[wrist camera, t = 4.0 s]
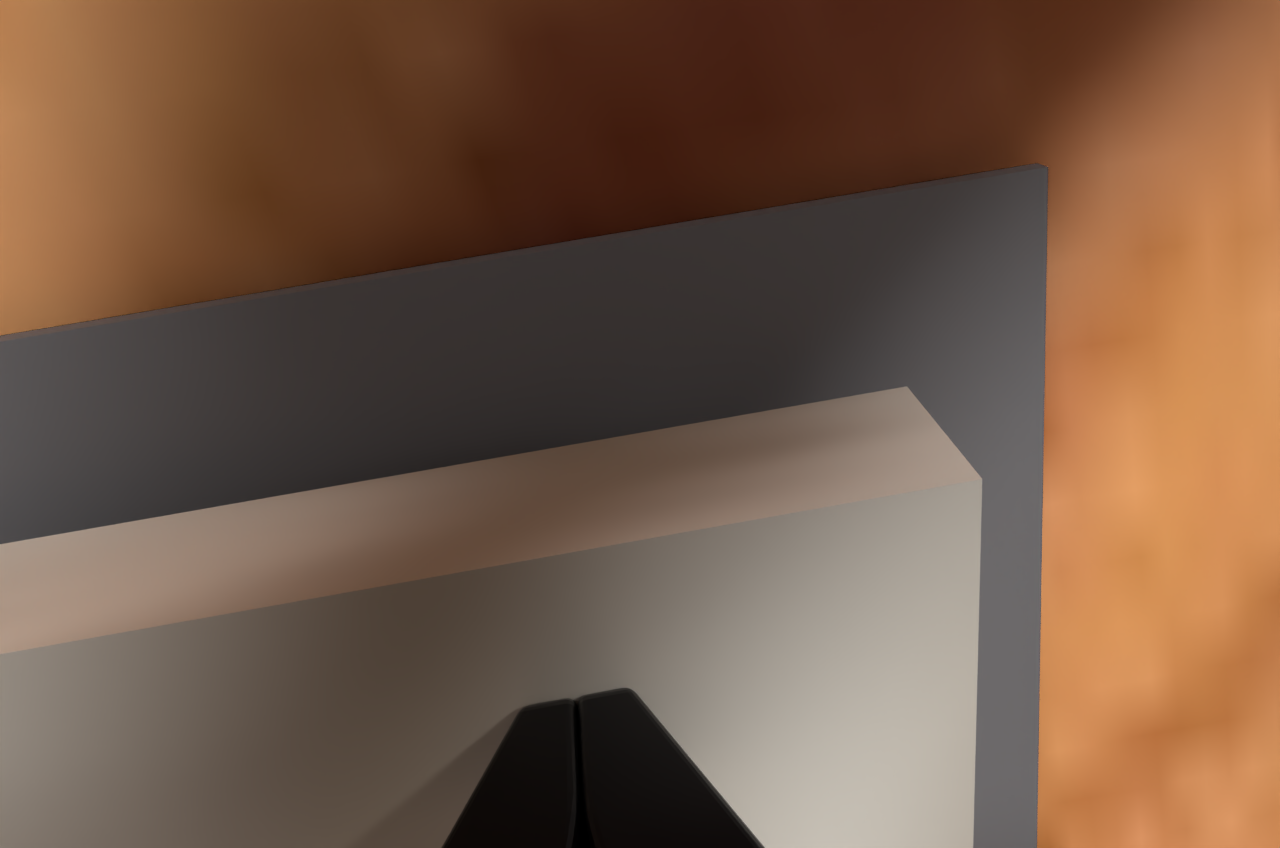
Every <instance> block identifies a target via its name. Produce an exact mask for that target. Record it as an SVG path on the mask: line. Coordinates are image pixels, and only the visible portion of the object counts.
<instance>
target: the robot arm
mask: <svg viewBox="0 0 1280 848" xmlns="http://www.w3.org/2000/svg"><path fill="white" fill-rule="evenodd" d="M442 848H765V847H764V846H763V845H762V843H761V842H760V841H759V840H758V839H757V837H756V836H755V835H754V834H753V833H752V831H751V830H750V829H749V828H748V827H747V825H746V824H745V823H744V822H743V821H742V819H741V818H740V817H739V816H738V815H737V813H736V812H735V811H734V810H733V809H732V807H731V806H730V805H729V804H728V803H727V801H726V800H725V799H724V798H723V797H722V795H721V794H720V793H719V792H718V791H717V789H716V788H715V787H714V786H713V784H712V783H711V782H710V781H709V780H708V778H707V777H706V776H705V775H704V774H703V772H702V771H701V770H700V769H699V768H698V766H697V765H696V764H695V763H694V762H693V760H692V759H691V758H690V757H689V756H688V754H687V753H686V752H685V751H684V750H683V748H682V747H681V746H680V745H679V744H678V742H677V741H676V740H675V739H674V738H673V736H672V735H671V734H670V733H669V732H668V730H667V729H666V728H665V727H664V726H663V724H662V723H661V722H660V721H659V720H658V718H657V717H656V716H655V715H654V714H653V712H652V711H651V710H650V709H649V708H648V706H647V705H646V704H645V703H644V702H643V700H642V699H641V698H640V697H639V695H638V694H637V693H636V692H635V691H633V690H632V689H630V688H619V689H613V690H608V691H602V692H597V693H592V694H587V695H584V696H583V697H581V698H580V700H579V703H578V706H577V704H576V703H575V701H574V700H572V699H570V698H564V699H559V700H553V701H548V702H543V703H537V704H532V705H528V706H525V707H523V708H522V709H521V710H520V711H519V712H518V713H517V715H516V717H515V718H514V720H513V722H512V724H511V725H510V727H509V729H508V731H507V733H506V734H505V736H504V738H503V740H502V741H501V743H500V745H499V747H498V749H497V750H496V752H495V754H494V756H493V757H492V759H491V761H490V763H489V764H488V766H487V768H486V770H485V772H484V773H483V775H482V777H481V779H480V780H479V782H478V784H477V786H476V787H475V789H474V791H473V793H472V795H471V796H470V798H469V800H468V802H467V803H466V805H465V807H464V809H463V811H462V812H461V814H460V816H459V818H458V819H457V821H456V823H455V825H454V826H453V828H452V830H451V832H450V834H449V835H448V837H447V839H446V841H445V842H444V844H443V846H442Z"/></svg>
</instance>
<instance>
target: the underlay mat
mask: <svg viewBox="0 0 1280 848" xmlns="http://www.w3.org/2000/svg"><path fill="white" fill-rule="evenodd" d="M1047 204H1048V167H1047V166H1044V165H1041V164H1038V163H1035V164H1029V165H1023V166H1017V167H1011V168H1005V169H999V170H993V171H987V172H981V173H975V174H969V175H963V176H957V177H951V178H945V179H939V180H933V181H927V182H921V183H915V184H909V185H903V186H897V187H891V188H885V189H879V190H873V191H867V192H861V193H855V194H849V195H843V196H837V197H831V198H825V199H819V200H813V201H807V202H801V203H795V204H789V205H783V206H777V207H771V208H765V209H759V210H753V211H747V212H741V213H735V214H729V215H723V216H717V217H711V218H705V219H699V220H693V221H687V222H681V223H675V224H669V225H663V226H657V227H651V228H645V229H639V230H633V231H627V232H621V233H615V234H609V235H603V236H597V237H591V238H585V239H579V240H573V241H567V242H561V243H555V244H549V245H543V246H537V247H531V248H525V249H519V250H513V251H507V252H501V253H495V254H489V255H483V256H477V257H471V258H465V259H459V260H453V261H447V262H441V263H434V264H428V265H422V266H416V267H410V268H404V269H398V270H392V271H386V272H380V273H374V274H368V275H362V276H356V277H350V278H344V279H338V280H332V281H326V282H320V283H314V284H308V285H302V286H296V287H290V288H284V289H278V290H272V291H266V292H260V293H254V294H248V295H242V296H236V297H230V298H224V299H218V300H212V301H206V302H200V303H194V304H188V305H182V306H176V307H170V308H164V309H158V310H152V311H146V312H140V313H134V314H128V315H122V316H116V317H110V318H104V319H98V320H92V321H86V322H80V323H74V324H68V325H62V326H56V327H50V328H44V329H38V330H32V331H26V332H20V333H14V334H8V335H2V336H0V544H5V543H11V542H16V541H22V540H28V539H34V538H39V537H45V536H51V535H57V534H62V533H68V532H74V531H80V530H85V529H91V528H97V527H102V526H108V525H114V524H120V523H125V522H131V521H137V520H143V519H148V518H154V517H160V516H166V515H171V514H177V513H183V512H189V511H194V510H200V509H206V508H212V507H217V506H223V505H229V504H234V503H240V502H246V501H252V500H257V499H263V498H269V497H275V496H280V495H286V494H292V493H298V492H303V491H309V490H315V489H321V488H326V487H332V486H338V485H344V484H349V483H355V482H361V481H366V480H372V479H378V478H384V477H389V476H395V475H401V474H407V473H412V472H418V471H424V470H430V469H435V468H441V467H447V466H453V465H458V464H464V463H470V462H476V461H481V460H487V459H493V458H498V457H504V456H510V455H516V454H521V453H527V452H533V451H539V450H544V449H550V448H556V447H562V446H567V445H573V444H579V443H585V442H590V441H596V440H602V439H608V438H613V437H619V436H625V435H630V434H636V433H642V432H648V431H653V430H659V429H665V428H671V427H676V426H682V425H688V424H694V423H699V422H705V421H711V420H717V419H722V418H728V417H734V416H740V415H745V414H751V413H757V412H762V411H768V410H774V409H780V408H785V407H791V406H797V405H803V404H808V403H814V402H820V401H826V400H831V399H837V398H843V397H849V396H854V395H860V394H866V393H872V392H877V391H883V390H889V389H894V388H900V387H906V386H907V387H908V388H909V389H910V391H911V392H912V393H913V394H914V396H915V397H916V398H917V399H918V400H919V402H920V403H921V404H922V405H923V407H924V408H925V409H926V410H927V412H928V413H929V414H930V415H931V416H932V418H933V419H934V420H935V421H936V423H937V424H938V425H939V426H940V428H941V429H942V430H943V431H944V432H945V434H946V435H947V436H948V437H949V439H950V440H951V441H952V442H953V444H954V445H955V446H956V447H957V448H958V450H959V451H960V452H961V453H962V455H963V456H964V457H965V458H966V460H967V461H968V462H969V463H970V464H971V466H972V467H973V468H974V469H975V471H976V472H977V473H978V474H979V476H980V477H981V478H982V513H981V553H980V593H979V634H978V674H977V714H976V754H975V794H974V834H973V848H1037V804H1038V744H1039V684H1040V624H1041V564H1042V504H1043V444H1044V384H1045V324H1046V264H1047Z"/></svg>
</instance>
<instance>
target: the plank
mask: <svg viewBox="0 0 1280 848" xmlns="http://www.w3.org/2000/svg"><path fill="white" fill-rule="evenodd" d="M981 513H982V478H981V477H980V476H979V474H978V473H977V472H976V471H975V469H974V468H973V467H972V466H971V464H970V463H969V462H968V461H967V460H966V458H965V457H964V456H963V455H962V453H961V452H960V451H959V450H958V448H957V447H956V446H955V445H954V444H953V442H952V441H951V440H950V439H949V437H948V436H947V435H946V434H945V432H944V431H943V430H942V429H941V428H940V426H939V425H938V424H937V423H936V421H935V420H934V419H933V418H932V416H931V415H930V414H929V413H928V412H927V410H926V409H925V408H924V407H923V405H922V404H921V403H920V402H919V400H918V399H917V398H916V397H915V396H914V394H913V393H912V392H911V391H910V389H909V388H908V387H907V386H906V387H900V388H894V389H889V390H883V391H877V392H872V393H866V394H860V395H854V396H849V397H843V398H837V399H831V400H826V401H820V402H814V403H808V404H803V405H797V406H791V407H785V408H780V409H774V410H768V411H762V412H757V413H751V414H745V415H740V416H734V417H728V418H722V419H717V420H711V421H705V422H699V423H694V424H688V425H682V426H676V427H671V428H665V429H659V430H653V431H648V432H642V433H636V434H630V435H625V436H619V437H613V438H608V439H602V440H596V441H590V442H585V443H579V444H573V445H567V446H562V447H556V448H550V449H544V450H539V451H533V452H527V453H521V454H516V455H510V456H504V457H498V458H493V459H487V460H481V461H476V462H470V463H464V464H458V465H453V466H447V467H441V468H435V469H430V470H424V471H418V472H412V473H407V474H401V475H395V476H389V477H384V478H378V479H372V480H366V481H361V482H355V483H349V484H344V485H338V486H332V487H326V488H321V489H315V490H309V491H303V492H298V493H292V494H286V495H280V496H275V497H269V498H263V499H257V500H252V501H246V502H240V503H234V504H229V505H223V506H217V507H212V508H206V509H200V510H194V511H189V512H183V513H177V514H171V515H166V516H160V517H154V518H148V519H143V520H137V521H131V522H125V523H120V524H114V525H108V526H102V527H97V528H91V529H85V530H80V531H74V532H68V533H62V534H57V535H51V536H45V537H39V538H34V539H28V540H22V541H16V542H11V543H5V544H0V848H442V846H443V844H444V842H445V841H446V839H447V837H448V835H449V834H450V832H451V830H452V828H453V826H454V825H455V823H456V821H457V819H458V818H459V816H460V814H461V812H462V811H463V809H464V807H465V805H466V803H467V802H468V800H469V798H470V796H471V795H472V793H473V791H474V789H475V787H476V786H477V784H478V782H479V780H480V779H481V777H482V775H483V773H484V772H485V770H486V768H487V766H488V764H489V763H490V761H491V759H492V757H493V756H494V754H495V752H496V750H497V749H498V747H499V745H500V743H501V741H502V740H503V738H504V736H505V734H506V733H507V731H508V729H509V727H510V725H511V724H512V722H513V720H514V718H515V717H516V715H517V713H518V712H519V711H520V710H521V709H522V708H523V707H525V706H528V705H532V704H537V703H543V702H548V701H553V700H559V699H564V698H570V699H572V700H574V701H575V703H576V704H577V706H578V703H579V700H580V698H581V697H583V696H584V695H587V694H592V693H597V692H602V691H608V690H613V689H619V688H630V689H632V690H633V691H635V692H636V693H637V694H638V695H639V697H640V698H641V699H642V700H643V702H644V703H645V704H646V705H647V706H648V708H649V709H650V710H651V711H652V712H653V714H654V715H655V716H656V717H657V718H658V720H659V721H660V722H661V723H662V724H663V726H664V727H665V728H666V729H667V730H668V732H669V733H670V734H671V735H672V736H673V738H674V739H675V740H676V741H677V742H678V744H679V745H680V746H681V747H682V748H683V750H684V751H685V752H686V753H687V754H688V756H689V757H690V758H691V759H692V760H693V762H694V763H695V764H696V765H697V766H698V768H699V769H700V770H701V771H702V772H703V774H704V775H705V776H706V777H707V778H708V780H709V781H710V782H711V783H712V784H713V786H714V787H715V788H716V789H717V791H718V792H719V793H720V794H721V795H722V797H723V798H724V799H725V800H726V801H727V803H728V804H729V805H730V806H731V807H732V809H733V810H734V811H735V812H736V813H737V815H738V816H739V817H740V818H741V819H742V821H743V822H744V823H745V824H746V825H747V827H748V828H749V829H750V830H751V831H752V833H753V834H754V835H755V836H756V837H757V839H758V840H759V841H760V842H761V843H762V845H763V846H764V847H765V848H973V834H974V794H975V754H976V714H977V674H978V634H979V593H980V553H981Z"/></svg>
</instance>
